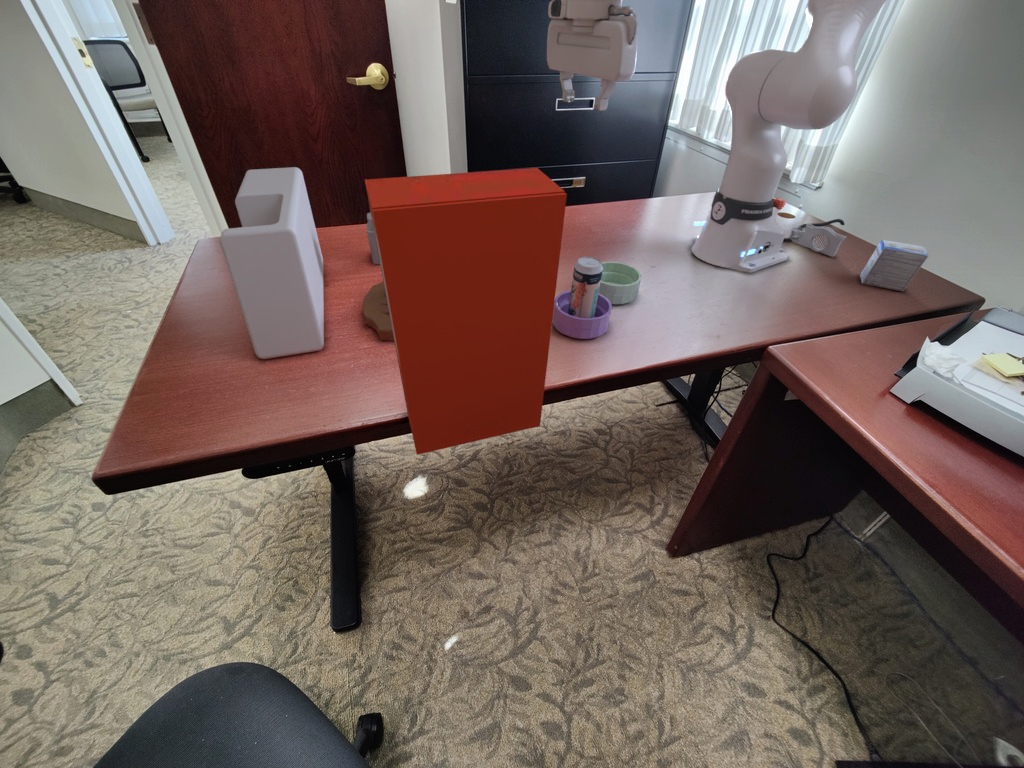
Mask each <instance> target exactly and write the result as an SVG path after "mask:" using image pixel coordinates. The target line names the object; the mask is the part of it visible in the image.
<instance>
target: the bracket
mask: <svg viewBox="0 0 1024 768" xmlns="http://www.w3.org/2000/svg"><path fill="white" fill-rule="evenodd" d="M304 178H305V177H304V174H303V171H302V170H301V169H300V168H299V167H296V166H291V167H276V168H275V167H273V168H257V169H255V168H254V169H248V170H247V171H246V172H245V175H244V177H243V179H242V182H241V184H240V186H239V189H238V192H237V194H236V196H235V199H234V205H235V208H236V210H237V214H238V218H239V221H240V225H241V227H231V228H225V229H223V231H222V232H221V234H220V236H219V245H220V248H221V251H222V254H223V257H224V260H225V263H226V267H227V269H228V273H229V276H230V279H231V282H232V285H233V288H234V291H235V294H236V297H237V300H238V304H239V307H240V310H241V313H242V317H243V319H244V322H245V325H246V328H247V332H248V335H249V338H250V341H251V345H252V348H253V350H254V353H255V356H256V357H257V358H259V359H261V360H269V359H275V358H281V357H287V356H294V355H301V354H306V353H308V354H309V353H314V352H320V351H321V350H322V349H324V347H325V323H324V322H325V310H324V309H325V308H324V307H325V306H324V304H325V301H324V299H325V298H324V293H325V292H324V258H323V257H324V256H323V254H322V253H323V252H322V249H321V245H320V241H319V237H318V233H317V228H316V224H315V221H314V215H313V211H312V208H311V207H312V206H311V204H310V199H309V195H308V190H307V186H306V182H305V179H304Z"/></svg>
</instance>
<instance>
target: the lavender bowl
mask: <svg viewBox="0 0 1024 768" xmlns="http://www.w3.org/2000/svg"><path fill="white" fill-rule="evenodd" d="M570 294H571V289H569V290H564V291H562V292H560V293H559V294H558V295H556V296H555V301H554V309H553V318H552V326H553V327H554V328H555V329H556V330H557V331H558V332H560V334H562V335H565V336H567V337H570V338H575V339H578V340H579V339H580V340H583V339H586V340H587V339H589V340H590V339H594V338H598V337H601V336H602V335H604V334H605V333H606V332H607V331H608V329H609V323H610V319H611V314H612V309H613V304H611V302H610V301H609V300H608V299H607V298H606V297H604V296H603V295H601V294H599V293H598V298H597V304H596V309H595V315H594V318H579V317H574V316H571V315H569V314H568V308H569V301H570Z"/></svg>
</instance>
